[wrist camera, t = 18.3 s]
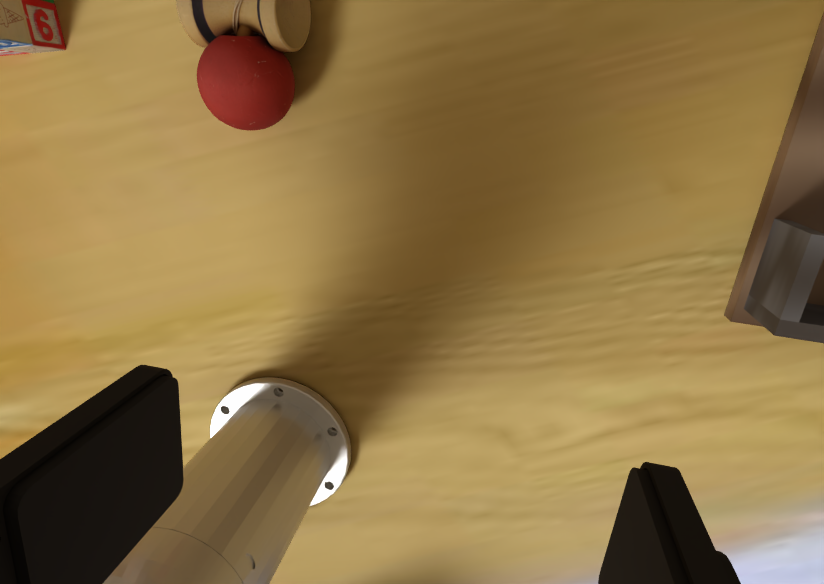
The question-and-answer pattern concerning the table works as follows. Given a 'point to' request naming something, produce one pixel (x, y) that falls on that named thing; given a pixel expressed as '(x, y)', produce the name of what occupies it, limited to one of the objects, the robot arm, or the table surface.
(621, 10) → the table surface
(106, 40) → the table surface
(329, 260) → the table surface
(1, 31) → the stack of blocks
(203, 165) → the table surface
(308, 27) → the kendama
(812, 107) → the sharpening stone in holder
